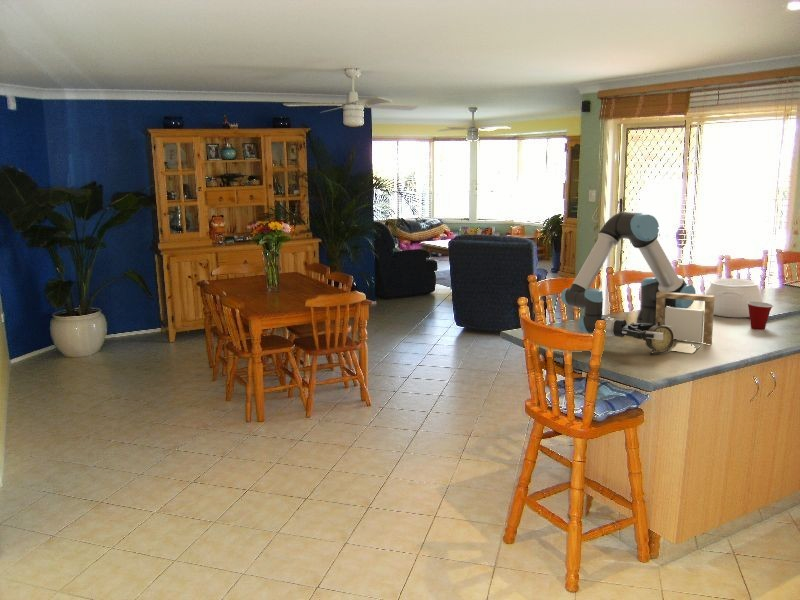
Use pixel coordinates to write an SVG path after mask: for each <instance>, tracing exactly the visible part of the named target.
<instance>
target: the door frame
mask: <svg viewBox="0 0 800 600" xmlns="http://www.w3.org/2000/svg"><path fill="white" fill-rule="evenodd" d="M656 297H657V298H656V317H657V316H658V315H661V316H662V317H663V320H662V317H661V316H658V317H657V319H656V320H657V322H660V325H664V320H665V298H670V299H683V300H694V302H695V301H698V302H704V317H703V336H702V344H703V343H706V344H711V343H712V342H713V332H714V331H713V326H714V314H713V313H714V299H715V296H714V295H706V294H701V293H699V294H698V293H696V294H687V293H674V292H660V291H659V292H657V293H656ZM661 320H662V322H661ZM657 322H656V325H658V323H657ZM712 344H713V343H712ZM712 344H711V345H712Z"/></svg>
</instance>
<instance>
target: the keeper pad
mask: <svg viewBox="0 0 800 600" xmlns="http://www.w3.org/2000/svg"><path fill="white" fill-rule="evenodd" d="M689 343H690V344H691V346H692V344H693V345H694V346H695V347H694V348H696V349H697V348H698V347H699V346H700V345H701V346H702V344H701V343H694V342H692V343H691V342H689Z"/></svg>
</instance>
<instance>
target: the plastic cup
mask: <svg viewBox="0 0 800 600" xmlns="http://www.w3.org/2000/svg"><path fill="white" fill-rule="evenodd" d="M747 304H748V308H749V316H750V317H749V322H750V329H752V330H757V331H759V330H765V329H766V327H767V322H768V319H769V316H770V312H771V310H772V308H773V307H774V305H773V304H772V303H769V302H764V301H763V302H754V301H750V302H747Z"/></svg>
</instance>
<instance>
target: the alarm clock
mask: <svg viewBox="0 0 800 600" xmlns="http://www.w3.org/2000/svg"><path fill="white" fill-rule="evenodd" d="M658 316H661V315H658ZM658 316H657V317H658ZM657 317H656V319H657ZM661 317H662V316H661ZM662 320H663V317H662ZM662 320H661V322H662ZM656 322H657V320H656ZM657 323H658V325H654V326H652V327H651V328H650V329H649V330H648V332H657V333H663V340H657V339H648V338H646V337H645V340H644V341H645V345H646V346H647V348H648V349H650V350H651V352H653V353H654V352H655V351H656V352H657V353H665V352H668V350H669V349H671V348H672V346H673V343H674V340H673V339H674V336H673V332H672V331H671V329H670V328H669V327H667V326H662V325H660V322H657Z"/></svg>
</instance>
